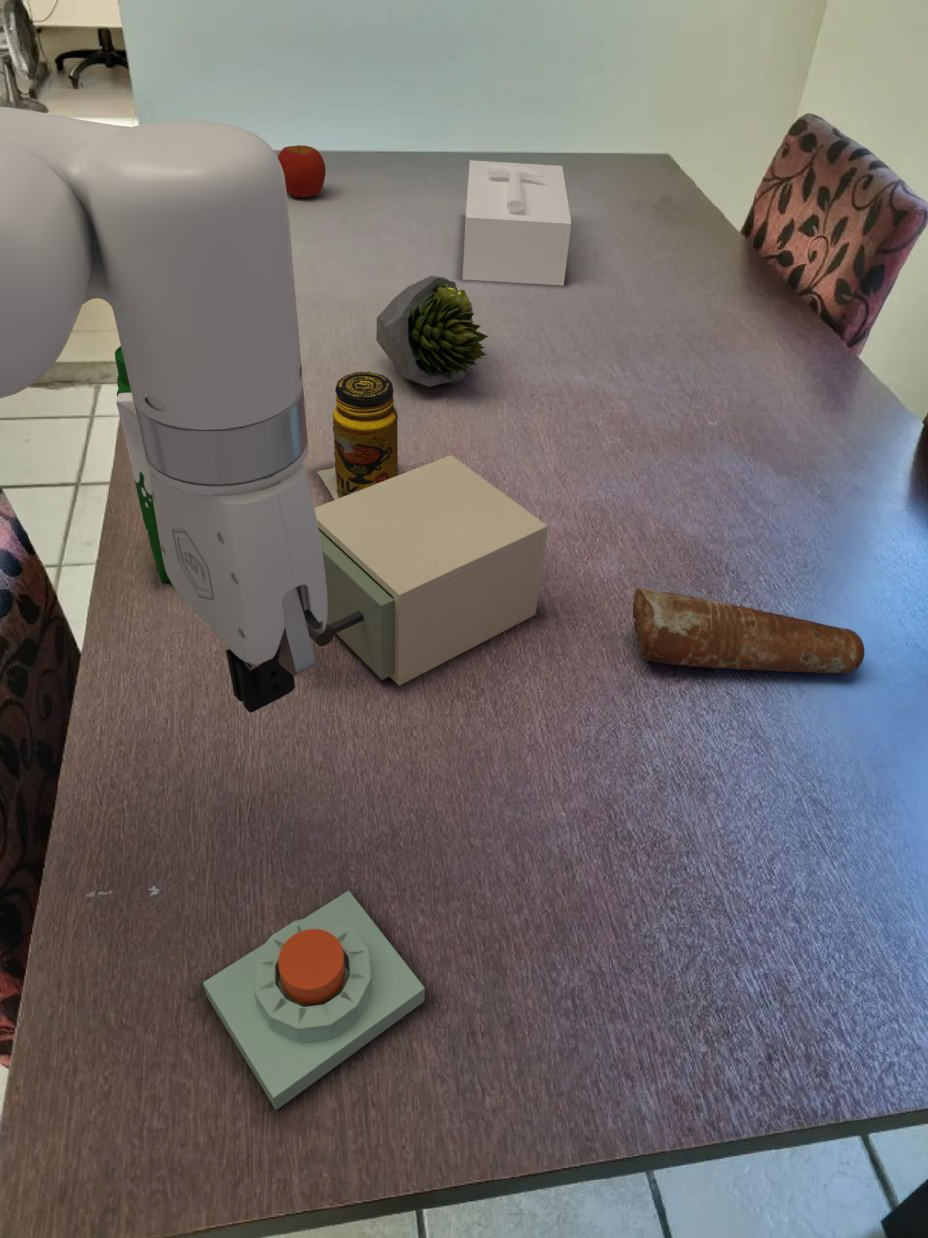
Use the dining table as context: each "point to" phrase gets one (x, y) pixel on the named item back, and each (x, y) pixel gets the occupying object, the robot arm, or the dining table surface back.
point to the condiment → (362, 434)
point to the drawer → (357, 611)
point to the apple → (302, 170)
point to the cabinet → (441, 558)
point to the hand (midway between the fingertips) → (265, 693)
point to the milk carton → (138, 461)
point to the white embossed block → (516, 223)
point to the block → (313, 1033)
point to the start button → (311, 966)
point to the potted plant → (430, 332)
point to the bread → (738, 637)
